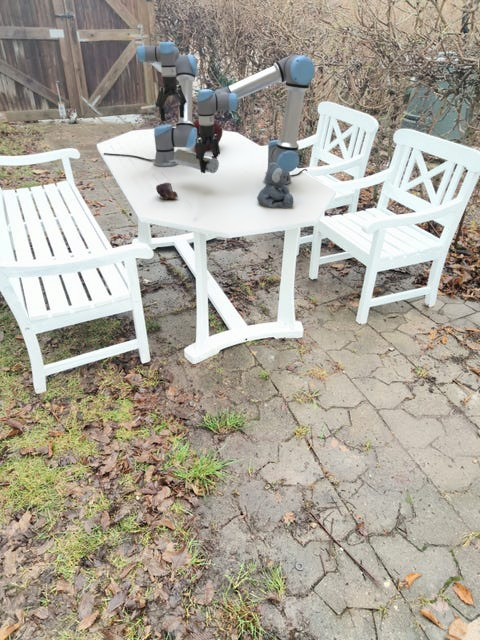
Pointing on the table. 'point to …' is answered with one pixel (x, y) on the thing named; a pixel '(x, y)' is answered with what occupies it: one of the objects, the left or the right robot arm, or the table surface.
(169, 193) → the rock
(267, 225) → the table surface
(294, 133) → the right robot arm
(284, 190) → the koala plush
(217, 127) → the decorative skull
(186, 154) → the rod
